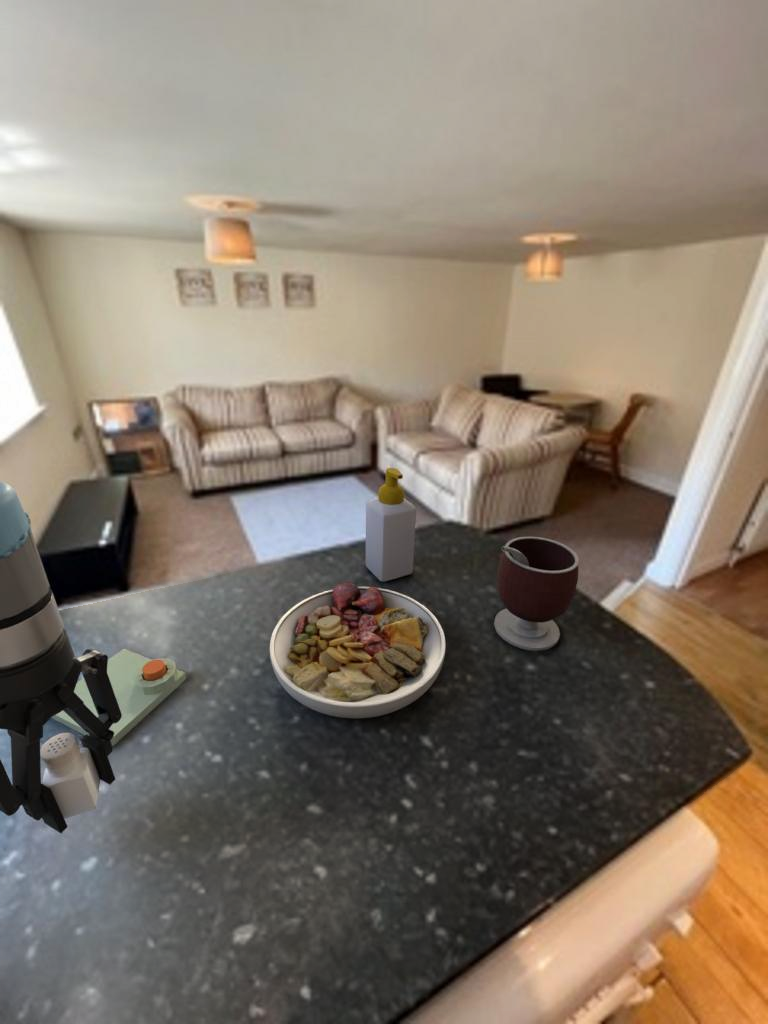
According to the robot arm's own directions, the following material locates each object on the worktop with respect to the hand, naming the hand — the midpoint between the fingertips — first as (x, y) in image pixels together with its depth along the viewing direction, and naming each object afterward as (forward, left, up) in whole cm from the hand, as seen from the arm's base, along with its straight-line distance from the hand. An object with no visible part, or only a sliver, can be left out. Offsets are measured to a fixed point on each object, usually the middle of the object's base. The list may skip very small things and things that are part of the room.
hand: (81, 799), depth 52 cm
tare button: (-10, +19, -2) cm, 21 cm away
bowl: (+17, +38, -5) cm, 42 cm away
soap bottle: (+11, +67, -5) cm, 68 cm away
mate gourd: (+43, +58, -5) cm, 72 cm away
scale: (-14, +15, -4) cm, 21 cm away
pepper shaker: (0, 0, -1) cm, 1 cm away
